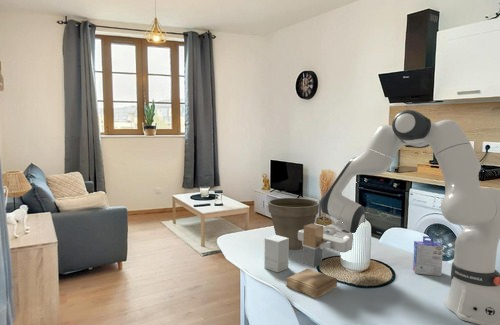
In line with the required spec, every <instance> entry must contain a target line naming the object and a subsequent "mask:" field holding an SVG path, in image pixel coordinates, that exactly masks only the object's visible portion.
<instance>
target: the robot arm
mask: <svg viewBox="0 0 500 325" xmlns="http://www.w3.org/2000/svg"><path fill="white" fill-rule="evenodd" d="M402 147H406V148H413V149H425V148H428V147H430V148H431V150H432V151H433V155H434V157H435V159H436V161H437V163H438V166H439V168H440V171H441V174H442V178H443V179H444V188H445V190H444V197H443V198H442V200H441V203H440V209H441V214H442V215H443V217H444V219H445V220H447V221H446V222H449V223H451V224H453V225H458V226H463V229H462V231H461V232H460V233H459V234H457V237H456V238H455V242H454V253H453V255H454V256H453V262H452V263H451V267H450V268H451V269H450V276H451V277H450V279H451V282H450V288H449V290H448V291H449V292H448V295H447V297H446V299H445V301H444V304H445V307H446V308H447V309H448V310H450V311H451V312H453V314H455V315H456V316H457V317H458V319H460V320H462V321H466V322H467V323H473V324H476V325H500V272H499V271H498V270H496V263H497V262H496V261H497V251H498V246H499V242H500V189H499V188H494V187H486V188H482V187H481V184H480V179H479V178H480V177H479V173H480V172H481V169H482V164H481V162H480V160H479V158H478V156H477V154H476V151H475V150H474V147H473V146H472V144H471V142H470V140H469V138H468V136H467V135H466V133H465V131H464V129H463V128H461V126H460V125H459V124H458V123H457V121H455V120H453V119H443V120H439V121H436V122H432V121H431V119H430V118H428V117H426V116H425V115H423V114H422V113H421V112H419V111H416V110H412V109H411V110H410V109H406V110H401V111H400V112H398V113H397V114H396V115H395V116H394V118H393V120H392V122H391V125H390V124H383V125H380V126H378V128H377V129H375V131H374V133H373V134H372V136H371V137H370V139H369V140H368V142H367V144H366V147H365V149H364V150H363V151H362V153H360V154H359V155H358V156H357V157H352V158H351V159H350V160H349V161H348V162H347V163H346V165H344V167H343V169H342V170H341V171H340V173H339V174H338V176H337V177H336V179H335V180H334V181H333V183H332V185H331V186H330V187H329V188H328V189H327V191H326V192H325V193H324V194H323V195H322V196H321V199H320V201H319V207H320V209H321V212H322V213H323V214H325V215H328V216H330V217H331V218H333V219H335V220H337V222H335V223H331V224H329V225H325V226H324V227H323V243H319V244H318V248H319V249H323V250H324V249H328V250H333V251H335V252H339V253H347V252H349V251H351V250H352V249H353V245H354V239H353V234H352V233H355V232H356V230H357V228H358V227H359V225H360V224H361V223H363V222H364V223H365V222H366V219H367V215H366V214H367V213H366V210H365V207H364V206H363V205H362V204H360V203H358V202H356V201H354V200H351V199H350V198H348V197H346V196H345V195H343V192H344V190H345V189H346V187H347V185H348V184H349V183H350V181H351V180H352V179H353V178H354V177H355V176H357V175H358V176H359V175H365V176H366V175H367V176H378V175H382V174H384V173H385V172H387V171H388V169H389V168H390V167H391V165H392V164H393V161H394V159H395V157H396V155H397V153H398V152H399V150H400V149H401V148H402ZM342 222H343V223H342ZM303 235H304V229H303V230H299V231H298V240H300V241H302V244H303Z"/></svg>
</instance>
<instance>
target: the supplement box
mask: <svg viewBox="0 0 500 325" xmlns="http://www.w3.org/2000/svg"><path fill="white" fill-rule="evenodd" d="M289 254H290V249H289V238H286V237H282V236H278V235H276V234H273V235H271V236H268V237H265V238H264V265H263V266H264V269H266V270H270V271H273V272H275V273H280V272H283V271H284V270H287V269H289V264H290V262H289V259H290V256H289Z"/></svg>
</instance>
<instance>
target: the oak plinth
mask: <svg viewBox="0 0 500 325" xmlns="http://www.w3.org/2000/svg"><path fill="white" fill-rule="evenodd" d="M285 282H286V285H285V286H286V287H287V288H290V289H293V290H295V291H298V292H300V293H303V294H305V295H307V296H309V297H312V298H315V299H319V298H320V297H321V296H325V294H327V293H329V292H330V291H332V290H333V289H335V288H337V287H338V278H336V277H334V276H331V275H328V274H324V273H322V272H319V271H316V270H313V269H310V268H306V269H303V270H301V271H300V272H299V271H298V273H295V274H293V275H291V276H288V277H286V281H285Z"/></svg>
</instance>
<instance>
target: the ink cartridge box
mask: <svg viewBox="0 0 500 325" xmlns="http://www.w3.org/2000/svg"><path fill="white" fill-rule="evenodd" d="M443 255H444V246H443V244H441V243H440V242H437V241H436V242H435V241H434V238H433V236H425V235H423V236H422V241H418V240H417V241H416V240H414V241H413V261H412V262H413V264H412V270H413V273H414V274H416V275H428V276H429V275H430V276H438V277H441V276H442V270H443Z"/></svg>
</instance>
